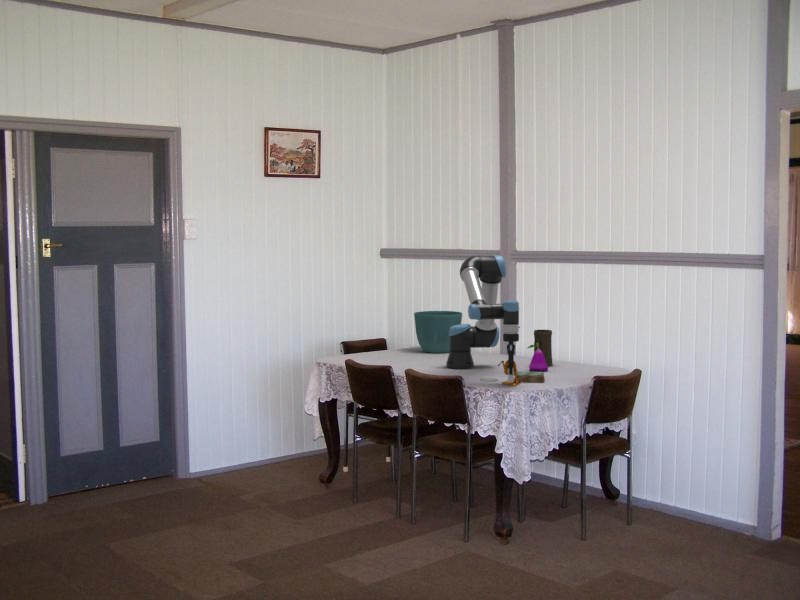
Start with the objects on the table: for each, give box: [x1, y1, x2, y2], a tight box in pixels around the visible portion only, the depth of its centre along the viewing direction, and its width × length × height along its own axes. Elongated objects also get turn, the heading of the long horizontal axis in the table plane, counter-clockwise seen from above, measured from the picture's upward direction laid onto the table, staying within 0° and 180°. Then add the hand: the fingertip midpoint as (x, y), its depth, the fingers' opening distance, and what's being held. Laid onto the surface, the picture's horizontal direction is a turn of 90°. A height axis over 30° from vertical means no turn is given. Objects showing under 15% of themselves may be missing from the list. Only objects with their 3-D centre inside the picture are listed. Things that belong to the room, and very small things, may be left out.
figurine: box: [497, 359, 522, 386], centre depth 433 cm, size 9×11×12 cm
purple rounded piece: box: [526, 343, 549, 372], centre depth 475 cm, size 11×11×15 cm
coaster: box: [479, 377, 499, 383], centre depth 445 cm, size 9×9×1 cm
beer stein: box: [533, 329, 554, 368], centre depth 496 cm, size 15×11×20 cm
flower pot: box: [413, 310, 463, 354], centre depth 558 cm, size 30×30×24 cm
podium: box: [516, 371, 545, 384], centre depth 445 cm, size 14×14×3 cm
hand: (511, 379), depth 431 cm, fingers closed on figurine, 9 cm apart
